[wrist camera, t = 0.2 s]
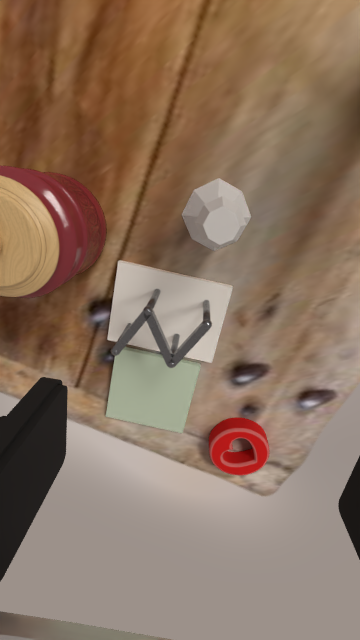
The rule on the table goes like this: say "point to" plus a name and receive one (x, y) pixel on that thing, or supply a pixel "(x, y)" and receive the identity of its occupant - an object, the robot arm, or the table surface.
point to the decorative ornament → (245, 459)
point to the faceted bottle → (216, 214)
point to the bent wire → (169, 355)
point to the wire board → (168, 307)
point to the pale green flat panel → (151, 390)
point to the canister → (45, 231)
